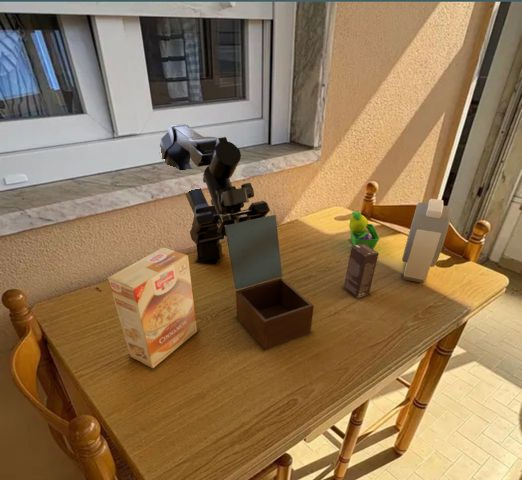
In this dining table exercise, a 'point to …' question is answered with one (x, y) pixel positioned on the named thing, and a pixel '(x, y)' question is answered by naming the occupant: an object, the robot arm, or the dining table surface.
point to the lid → (254, 251)
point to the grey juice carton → (425, 239)
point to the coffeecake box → (155, 305)
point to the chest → (274, 312)
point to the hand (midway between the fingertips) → (243, 250)
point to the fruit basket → (362, 231)
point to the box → (360, 270)
